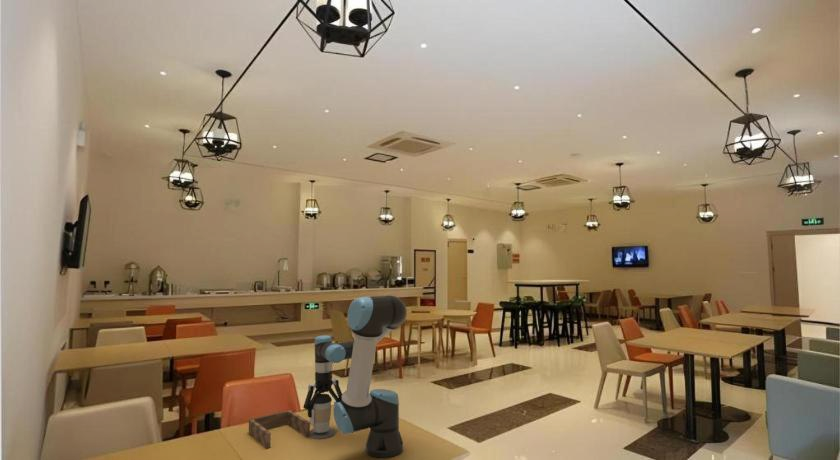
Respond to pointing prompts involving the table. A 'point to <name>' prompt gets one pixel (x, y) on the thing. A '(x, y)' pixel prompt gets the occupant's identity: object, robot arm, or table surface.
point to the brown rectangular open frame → (276, 425)
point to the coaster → (322, 434)
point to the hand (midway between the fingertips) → (324, 420)
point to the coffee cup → (322, 413)
